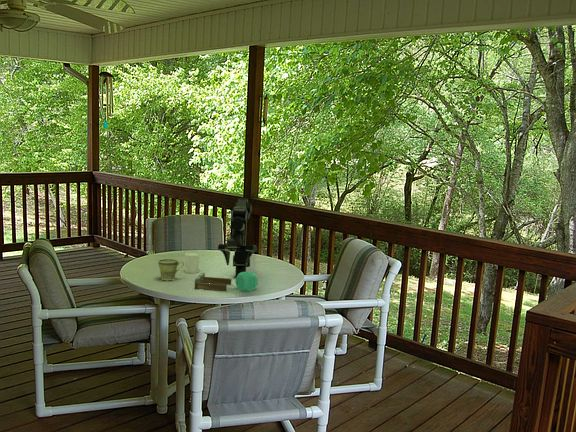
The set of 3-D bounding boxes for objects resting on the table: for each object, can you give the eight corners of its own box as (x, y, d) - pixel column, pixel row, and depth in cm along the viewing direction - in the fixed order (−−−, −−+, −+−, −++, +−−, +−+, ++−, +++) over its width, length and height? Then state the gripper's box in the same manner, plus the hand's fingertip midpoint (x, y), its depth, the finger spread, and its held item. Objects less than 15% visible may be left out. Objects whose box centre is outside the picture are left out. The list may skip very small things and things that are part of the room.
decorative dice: (247, 286, 282) (248, 271, 281) (257, 290, 276) (258, 274, 275) (235, 288, 277) (235, 272, 276) (244, 292, 271) (245, 276, 270)
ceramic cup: (158, 282, 281) (158, 262, 280) (157, 277, 290) (157, 258, 289) (184, 281, 284) (184, 262, 283) (182, 276, 294) (183, 258, 293)
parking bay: (201, 282, 285) (201, 272, 284) (231, 284, 284) (231, 274, 283) (194, 289, 271) (194, 279, 271) (225, 291, 270) (226, 281, 269)
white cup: (181, 271, 306) (182, 253, 304) (193, 269, 311) (193, 252, 310) (189, 274, 300) (190, 256, 299) (201, 272, 306) (202, 254, 304)
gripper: (213, 231, 266) (211, 263, 264) (249, 231, 260) (247, 264, 257) (223, 233, 276) (221, 265, 274) (258, 234, 270) (256, 266, 268)
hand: (236, 265), depth 268 cm, fingers open, 9 cm apart
